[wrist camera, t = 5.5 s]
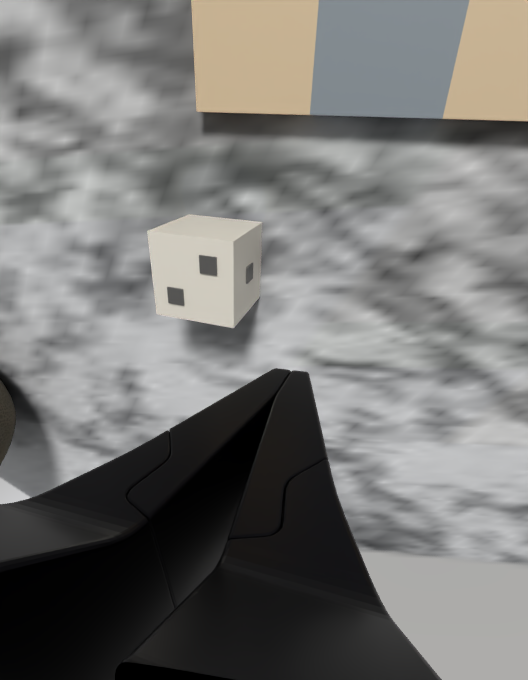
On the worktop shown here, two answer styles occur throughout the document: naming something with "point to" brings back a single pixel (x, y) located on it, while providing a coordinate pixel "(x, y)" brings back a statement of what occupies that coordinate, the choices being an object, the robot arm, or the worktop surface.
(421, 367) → the worktop surface
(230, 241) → the die
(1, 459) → the cantaloupe
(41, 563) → the robot arm
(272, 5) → the track
